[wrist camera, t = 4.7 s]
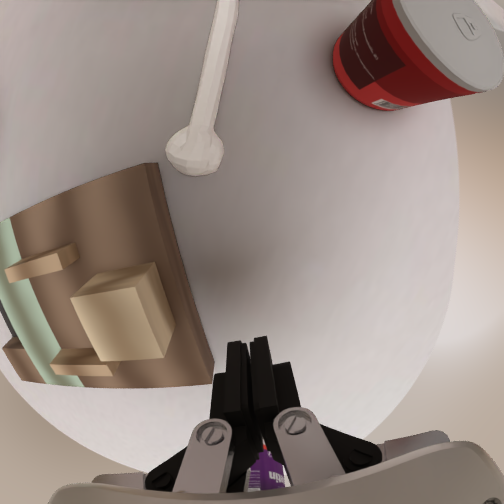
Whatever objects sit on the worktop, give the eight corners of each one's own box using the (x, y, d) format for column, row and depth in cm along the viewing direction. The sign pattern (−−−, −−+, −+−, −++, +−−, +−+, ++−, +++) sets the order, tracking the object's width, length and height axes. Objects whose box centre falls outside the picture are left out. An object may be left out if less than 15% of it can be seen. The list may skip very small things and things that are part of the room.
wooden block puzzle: (157, 162, 19) (129, 163, 14) (214, 361, 24) (209, 404, 19) (-24, 238, 19) (-54, 253, 14) (32, 367, 25) (13, 392, 20)
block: (154, 261, 18) (134, 286, 14) (176, 324, 20) (163, 357, 16) (96, 273, 18) (69, 297, 14) (119, 330, 20) (101, 361, 16)
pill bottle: (283, 456, 31) (295, 541, 17) (229, 463, 31) (228, 546, 17) (274, 429, 28) (287, 532, 15) (211, 437, 29) (205, 536, 15)
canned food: (427, 86, 17) (517, 64, 7) (373, 131, 18) (473, 118, 8) (371, 18, 15) (439, -40, 5) (309, 56, 17) (365, -20, 6)
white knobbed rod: (211, -73, 11) (210, -88, 8) (252, -72, 11) (254, -88, 8) (168, 174, 20) (157, 176, 17) (222, 176, 20) (219, 179, 17)
